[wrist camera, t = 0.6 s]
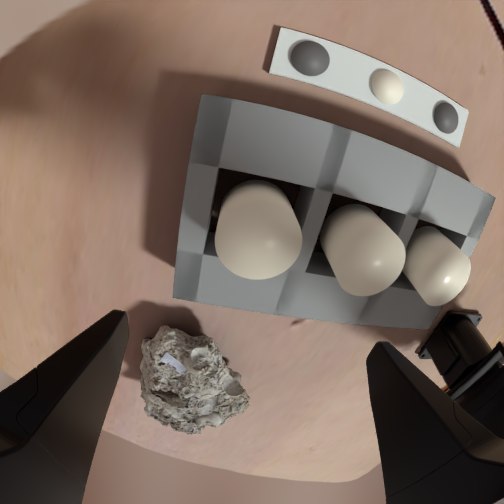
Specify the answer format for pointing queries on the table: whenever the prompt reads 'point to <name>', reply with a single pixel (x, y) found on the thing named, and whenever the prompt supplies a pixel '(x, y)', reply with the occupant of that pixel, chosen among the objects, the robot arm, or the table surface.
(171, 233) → the table surface
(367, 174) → the button board
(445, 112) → the card
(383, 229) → the button middle
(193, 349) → the mineral specimen
